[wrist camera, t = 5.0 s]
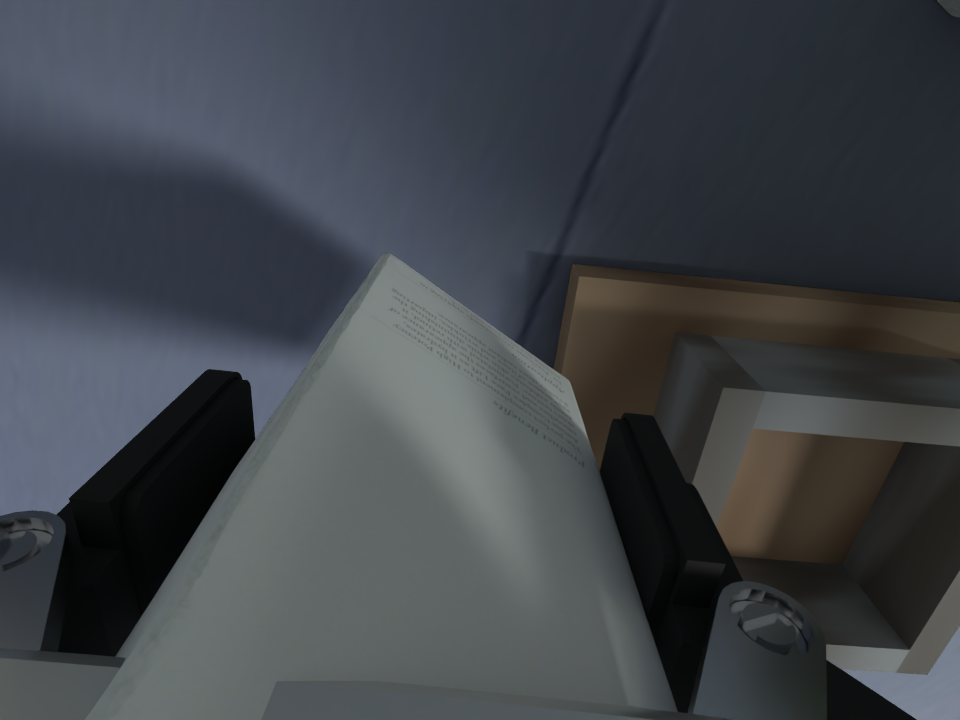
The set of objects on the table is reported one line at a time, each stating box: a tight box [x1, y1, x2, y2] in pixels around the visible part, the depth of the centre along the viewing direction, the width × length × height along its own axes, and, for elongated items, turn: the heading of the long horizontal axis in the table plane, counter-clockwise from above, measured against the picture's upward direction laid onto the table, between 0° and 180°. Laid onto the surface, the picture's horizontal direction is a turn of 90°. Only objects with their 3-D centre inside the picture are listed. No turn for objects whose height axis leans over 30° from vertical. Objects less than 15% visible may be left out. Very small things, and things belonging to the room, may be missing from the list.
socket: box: [554, 264, 960, 675], centre depth 20 cm, size 18×14×6 cm
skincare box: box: [85, 253, 678, 720], centre depth 9 cm, size 6×4×12 cm
